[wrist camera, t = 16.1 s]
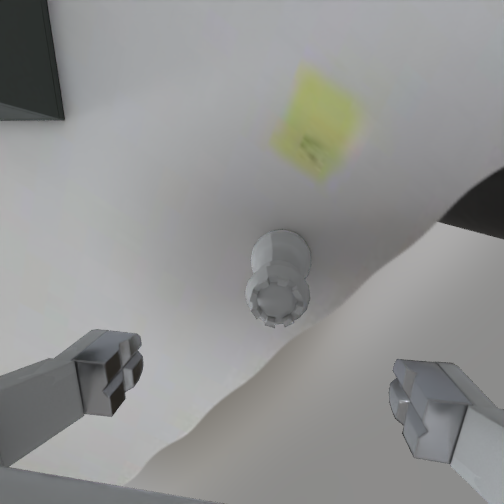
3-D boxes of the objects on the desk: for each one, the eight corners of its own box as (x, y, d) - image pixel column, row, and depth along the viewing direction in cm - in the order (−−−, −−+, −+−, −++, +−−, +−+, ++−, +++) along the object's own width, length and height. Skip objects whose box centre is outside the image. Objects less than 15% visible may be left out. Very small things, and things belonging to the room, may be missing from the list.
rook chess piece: (243, 239, 20) (215, 275, 12) (300, 219, 19) (308, 245, 11) (263, 290, 21) (248, 354, 13) (318, 274, 20) (337, 333, 12)
